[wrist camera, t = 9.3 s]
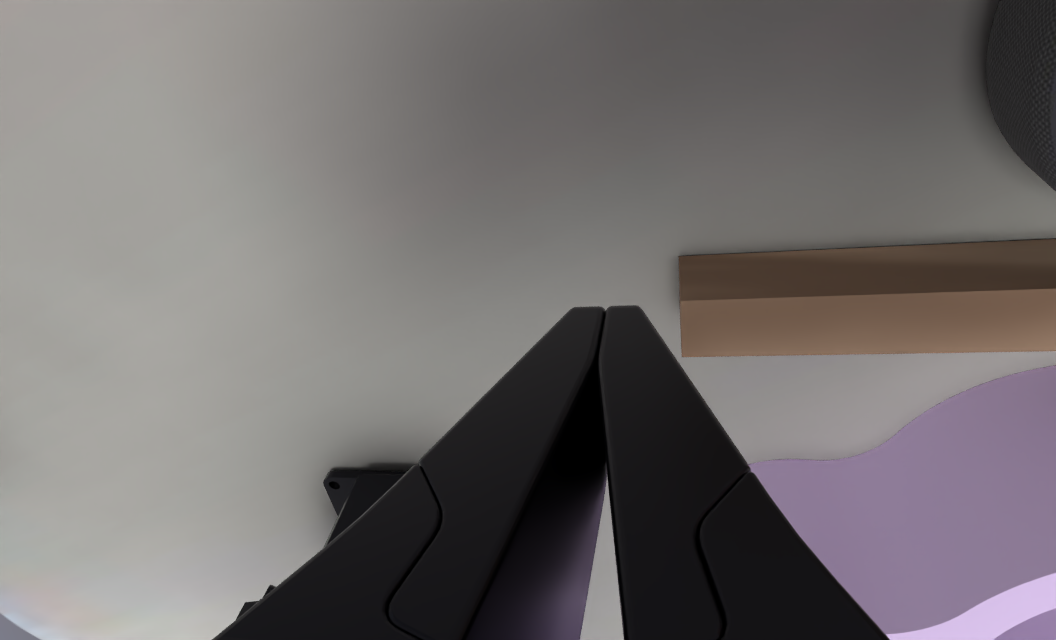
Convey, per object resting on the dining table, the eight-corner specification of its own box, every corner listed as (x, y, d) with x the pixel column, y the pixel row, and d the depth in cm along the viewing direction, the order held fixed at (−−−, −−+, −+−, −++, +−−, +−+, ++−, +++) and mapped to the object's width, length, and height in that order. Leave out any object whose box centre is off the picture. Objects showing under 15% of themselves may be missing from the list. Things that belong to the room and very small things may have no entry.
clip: (734, 621, 32) (750, 788, 26) (652, 437, 26) (650, 602, 20) (1283, 573, 25) (1461, 785, 20) (1347, 306, 19) (1631, 503, 13)
